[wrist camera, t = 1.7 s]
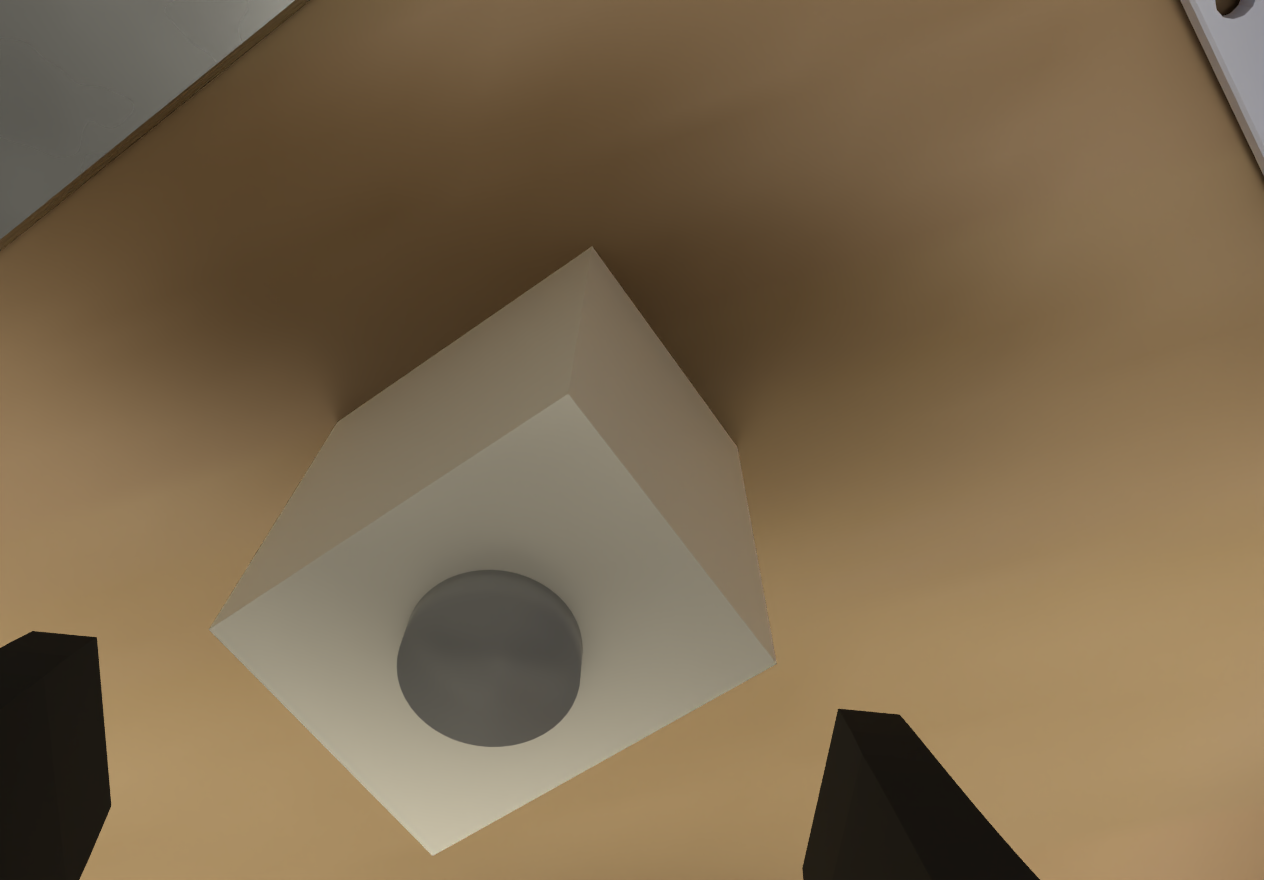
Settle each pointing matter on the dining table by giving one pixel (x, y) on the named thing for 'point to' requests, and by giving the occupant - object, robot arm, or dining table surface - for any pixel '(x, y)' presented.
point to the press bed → (103, 83)
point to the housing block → (509, 564)
